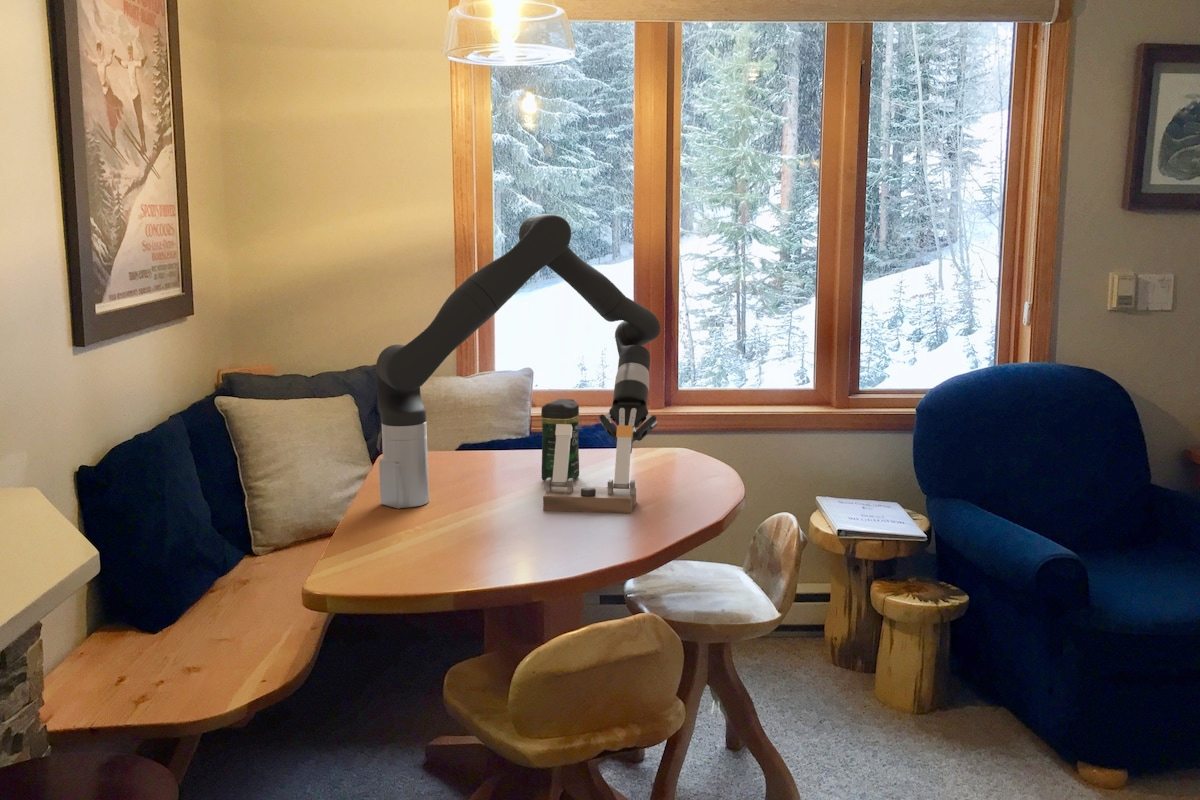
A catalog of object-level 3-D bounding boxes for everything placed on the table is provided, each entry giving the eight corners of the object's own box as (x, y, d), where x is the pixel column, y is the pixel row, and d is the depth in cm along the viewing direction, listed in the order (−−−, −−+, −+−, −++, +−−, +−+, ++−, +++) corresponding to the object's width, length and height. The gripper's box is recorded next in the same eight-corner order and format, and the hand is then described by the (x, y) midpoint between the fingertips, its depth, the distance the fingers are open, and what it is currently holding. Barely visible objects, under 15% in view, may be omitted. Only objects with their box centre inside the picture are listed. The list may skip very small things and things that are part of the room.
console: (551, 499, 223) (550, 473, 222) (637, 501, 220) (637, 476, 219) (542, 510, 214) (542, 484, 213) (631, 513, 211) (631, 486, 211)
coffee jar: (570, 485, 235) (569, 403, 232) (537, 483, 237) (536, 402, 234) (584, 476, 244) (583, 397, 241) (551, 473, 246) (550, 395, 243)
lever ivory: (552, 487, 219) (557, 427, 223) (567, 488, 218) (572, 427, 223) (550, 485, 217) (556, 424, 221) (565, 485, 216) (571, 424, 221)
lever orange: (614, 489, 216) (618, 428, 221) (629, 490, 216) (633, 428, 221) (612, 487, 215) (617, 425, 219) (628, 487, 214) (632, 425, 219)
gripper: (599, 377, 228) (591, 444, 218) (660, 378, 226) (654, 445, 216) (603, 398, 234) (595, 463, 224) (662, 399, 232) (657, 465, 222)
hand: (624, 454), depth 220 cm, fingers closed
